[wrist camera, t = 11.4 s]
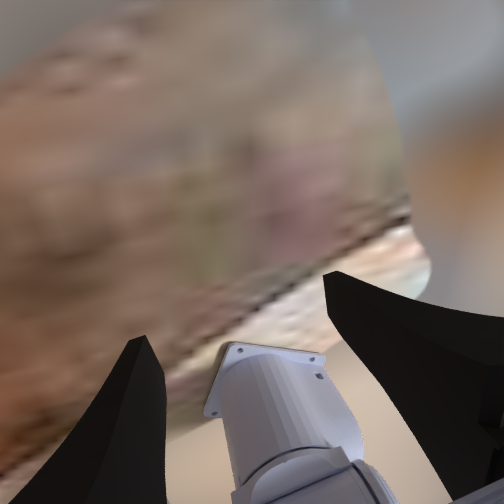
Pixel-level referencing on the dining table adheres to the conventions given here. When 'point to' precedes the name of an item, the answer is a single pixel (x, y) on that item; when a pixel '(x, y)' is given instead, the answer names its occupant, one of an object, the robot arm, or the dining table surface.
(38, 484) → the robot arm
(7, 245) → the dining table surface
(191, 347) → the dining table surface
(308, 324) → the dining table surface
